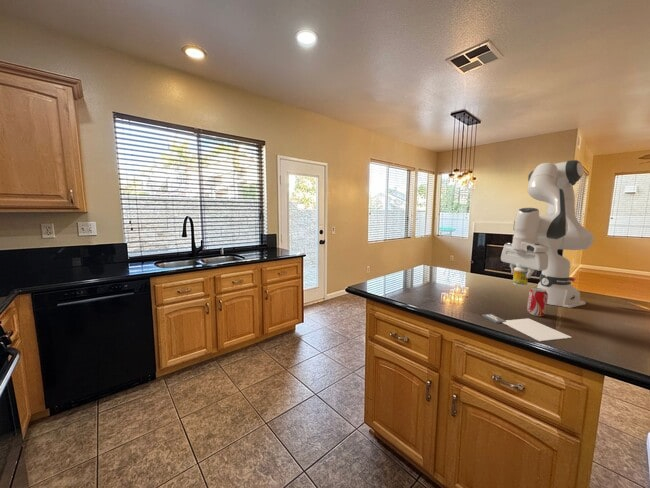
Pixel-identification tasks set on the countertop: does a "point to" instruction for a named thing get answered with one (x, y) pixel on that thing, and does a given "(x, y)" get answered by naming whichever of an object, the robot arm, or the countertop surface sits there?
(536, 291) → the soda can
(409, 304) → the countertop surface
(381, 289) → the countertop surface
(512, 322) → the paper sheet
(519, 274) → the supplement bottle
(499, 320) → the word card
